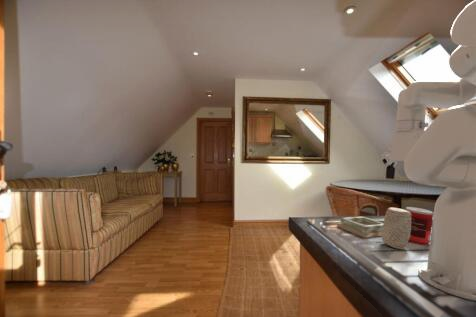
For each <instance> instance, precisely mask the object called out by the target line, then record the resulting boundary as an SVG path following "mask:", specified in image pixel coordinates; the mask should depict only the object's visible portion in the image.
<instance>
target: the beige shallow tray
mask: <svg viewBox="0 0 476 317" xmlns="http://www.w3.org/2000/svg"><path fill="white" fill-rule="evenodd" d="M383 224H384V222H381V221H378V220H375V219H372V218H369V217H366V216H349V217H348V216H347V217H341V218H340V222H338V223H337V225H336V226H337V227H338V228H340V229H343V230H345V231H347V232H350V233H352V234H355V235H357V236H360V237H362V238H365V239H366V238H374V237H375V238H376V237H382V229H383Z"/></svg>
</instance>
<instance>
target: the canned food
mask: <svg viewBox="0 0 476 317" xmlns="http://www.w3.org/2000/svg"><path fill="white" fill-rule="evenodd" d="M405 210H407V211H409V212H410V213H411V232H410V238H409V240H408V242H409V243H413V244H415V245H422V246H428V245H430V239H431V231H432V223H433V215H434V211H432V210H429V209H425V208H420V207H416V206H415V207H413V206H406V207H405Z"/></svg>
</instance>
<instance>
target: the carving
mask: <svg viewBox="0 0 476 317" xmlns="http://www.w3.org/2000/svg"><path fill="white" fill-rule="evenodd" d="M383 218H384V220H383V223H384V224H383V229H382V236H381V241H382V242H383V243H384V244H385V245H387V246H389V247H391V248H394V249H397V250H401V251H402V250H406V248H407V245H408V242H409V241H408V240H409V238H410V232H411V213H410V212H409V211H407V210H406V209H403V208H399V207H398V208H397V207H393V206H392V207H388V208H387V209H386V212H385V215H384V217H383Z"/></svg>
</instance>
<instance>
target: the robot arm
mask: <svg viewBox="0 0 476 317" xmlns="http://www.w3.org/2000/svg"><path fill="white" fill-rule="evenodd" d="M450 36H451V37H450V38H451V40H452V42H453V43H454V44H455V45H458V47H457V48H456V49H454V51H452V53H451V54H450V56H449V58H448V59H449V60H448V63H449V64H448V65H449V68H450V69H451V72H453V74H454V75H456V76H457V77H459V78H460V79H457V80H454V81H451V80H449V81H448V80H428V79H427V80H426V79H425V80H424V79H422V80H419V79H418V80H416V81H413V82H411V83H410V84H409V85H408V86H407V87H406V88H405V89H402V90H401V91H400V92H399V94H398V98H397V99H398V100H397V108H396V118H395V119H396V120H395V127H394V128H395V130H394V132H393V133H392V136H391V139H390V142H389V147H388V150H387V151H384V152H382V153H380V156H381V159H382V163H383V164H384V167H386V168H385V169H386V170H385V179H387V180H394V179H395V174H396V167H395V166H396V165H397V163H403V170H404V174H405V175H406V177H407V178H408V179H409V180H410V181H412V182H414V183H416V184H419V185H423V186H424V185H425V186H433V187H434V186H435V187H445V189H444V190H443V191H442V192H441V193H440V195H439V196H438V198H437V199H436V201H435V204H434V208H433V209H434V210H433V220H432V227H431V235H430V242H429V250H428V255H427V256H428V258H427V265H424V266H423V265H422V266H420V267H419V268H418V271H417V273H418V276H419V277H420V278H421V279H422V280H423V282H425V283H427V284H428V285H430V286H432V287H434V288H436V289H437V290H438V289H439V290H440V291H443V292H445V293H447V294H450V295H451V296H452V295H453V296H455V297H458V298H463V299H465V300H470V301H475V302H476V105H472V104H466V103H468V102H469V101H471V100H474V98H476V0H473V1H471V2H470V3H468V4H467V5H466V6H465V7H464V8H463V9H461V11H460V12H459V14H458V15H457V16H456V18H455V20H453V24H452V27H451V29H450ZM427 108H433V109H445V110H444V111H442V112H441V113H440V114H438V115H437V116H436V117H435V118H434V120H433V121H432V122H431V123H430V124H429V123H428V122H426V112H427ZM425 128H426V129H425Z"/></svg>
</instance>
